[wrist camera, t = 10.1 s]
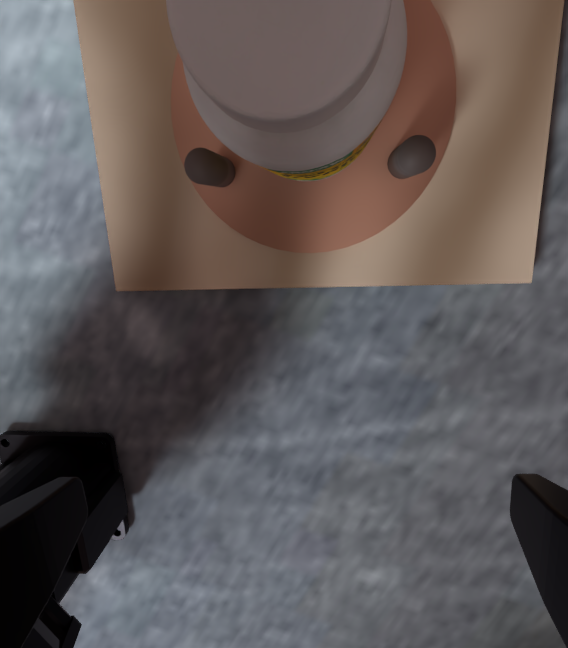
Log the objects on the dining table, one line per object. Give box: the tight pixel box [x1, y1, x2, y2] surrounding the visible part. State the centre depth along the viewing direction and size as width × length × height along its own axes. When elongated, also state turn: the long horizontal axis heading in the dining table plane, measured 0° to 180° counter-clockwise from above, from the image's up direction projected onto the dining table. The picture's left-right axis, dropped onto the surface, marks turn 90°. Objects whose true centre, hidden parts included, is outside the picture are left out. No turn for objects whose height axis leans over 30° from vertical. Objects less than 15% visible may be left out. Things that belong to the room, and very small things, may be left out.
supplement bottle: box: [166, 0, 407, 181], centre depth 12 cm, size 5×5×10 cm
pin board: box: [74, 0, 564, 291], centre depth 16 cm, size 18×14×4 cm
